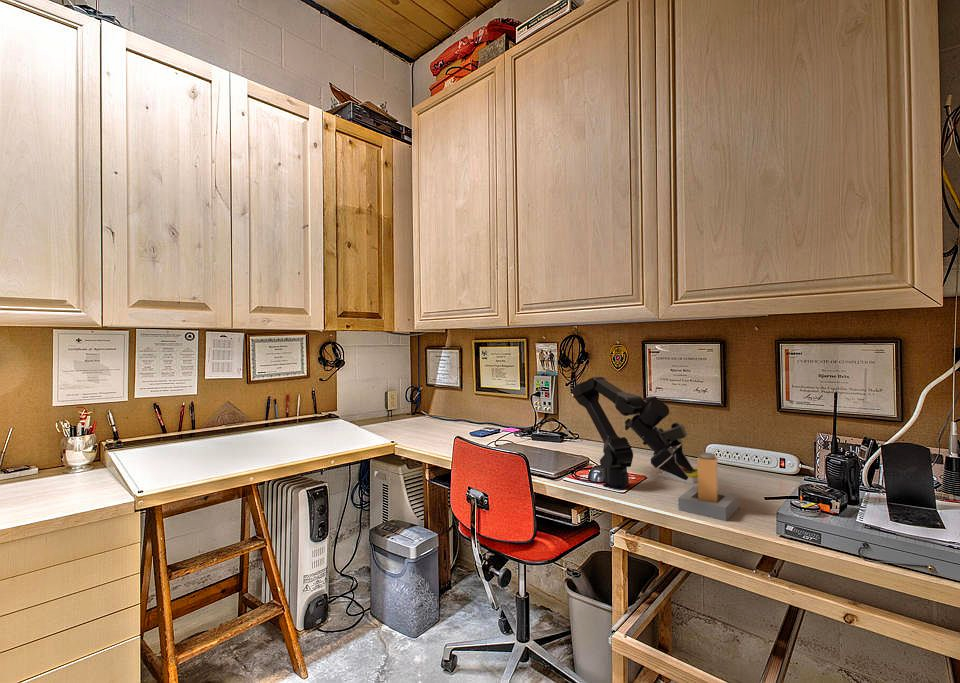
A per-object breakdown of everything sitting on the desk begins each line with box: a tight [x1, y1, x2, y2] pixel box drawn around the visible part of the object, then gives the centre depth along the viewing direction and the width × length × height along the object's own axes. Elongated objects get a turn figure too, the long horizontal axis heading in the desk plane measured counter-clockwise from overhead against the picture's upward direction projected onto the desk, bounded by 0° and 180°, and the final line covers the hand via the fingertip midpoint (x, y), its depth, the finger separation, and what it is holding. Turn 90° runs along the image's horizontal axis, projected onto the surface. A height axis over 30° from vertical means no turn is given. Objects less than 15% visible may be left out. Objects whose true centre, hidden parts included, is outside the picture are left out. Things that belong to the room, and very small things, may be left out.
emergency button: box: [657, 466, 698, 486], centre depth 155 cm, size 9×4×15 cm
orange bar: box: [696, 452, 719, 503], centre depth 126 cm, size 4×4×14 cm
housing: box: [677, 486, 739, 522], centre depth 126 cm, size 12×12×4 cm
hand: (689, 474), depth 129 cm, fingers open, 9 cm apart
